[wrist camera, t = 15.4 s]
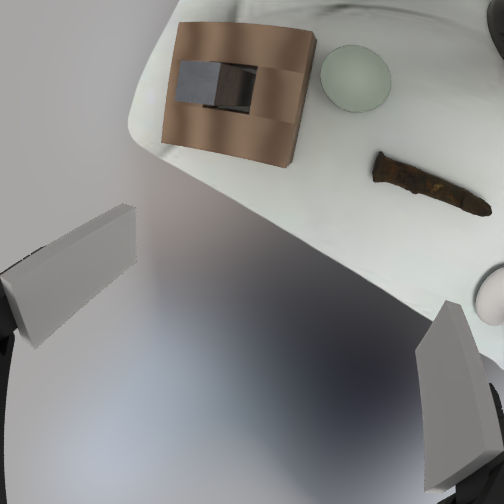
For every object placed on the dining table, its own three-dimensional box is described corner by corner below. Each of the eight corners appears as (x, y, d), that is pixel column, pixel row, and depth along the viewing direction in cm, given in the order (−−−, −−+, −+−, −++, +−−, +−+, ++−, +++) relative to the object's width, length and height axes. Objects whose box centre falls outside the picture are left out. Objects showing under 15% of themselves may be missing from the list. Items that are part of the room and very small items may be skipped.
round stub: (389, 66, 32) (397, 57, 26) (376, 120, 35) (382, 121, 29) (330, 49, 33) (327, 37, 27) (319, 103, 37) (313, 101, 31)
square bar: (260, 76, 37) (220, 62, 25) (254, 106, 39) (213, 105, 28) (229, 72, 38) (180, 60, 26) (224, 101, 40) (174, 101, 28)
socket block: (316, 40, 33) (312, 31, 29) (291, 162, 42) (285, 168, 37) (195, 29, 36) (179, 22, 32) (178, 138, 45) (161, 142, 40)
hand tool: (368, 176, 39) (371, 183, 35) (377, 149, 37) (381, 153, 33) (478, 222, 36) (489, 234, 32) (487, 199, 34) (500, 209, 30)
